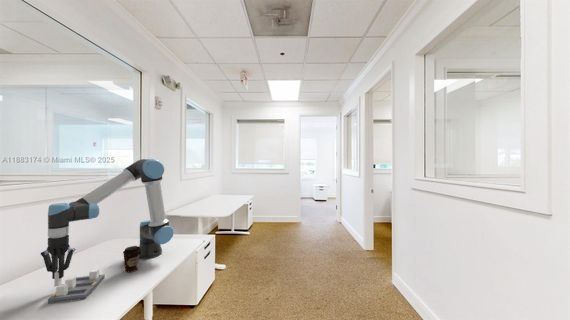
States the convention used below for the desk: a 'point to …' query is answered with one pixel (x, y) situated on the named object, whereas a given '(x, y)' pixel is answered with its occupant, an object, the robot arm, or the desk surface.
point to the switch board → (78, 289)
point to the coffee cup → (131, 258)
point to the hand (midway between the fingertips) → (58, 284)
